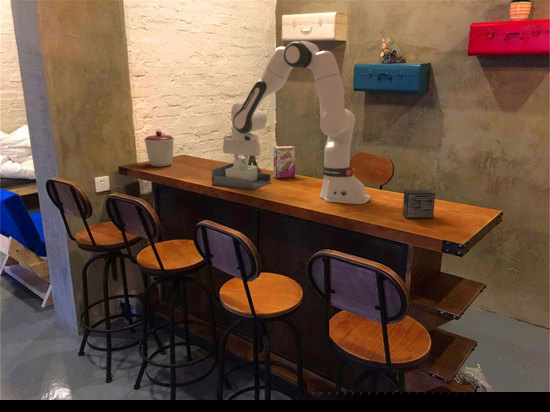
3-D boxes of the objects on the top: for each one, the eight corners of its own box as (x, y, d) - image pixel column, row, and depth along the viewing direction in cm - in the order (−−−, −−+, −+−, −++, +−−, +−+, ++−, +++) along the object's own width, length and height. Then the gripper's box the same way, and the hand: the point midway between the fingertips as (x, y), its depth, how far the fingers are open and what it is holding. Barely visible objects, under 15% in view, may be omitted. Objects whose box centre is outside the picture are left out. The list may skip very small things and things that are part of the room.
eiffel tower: (258, 179, 241) (258, 132, 234) (240, 178, 244) (238, 131, 237) (264, 175, 251) (264, 129, 244) (246, 174, 253) (245, 129, 246)
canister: (139, 166, 273) (136, 131, 267) (158, 161, 289) (155, 128, 283) (164, 169, 266) (161, 133, 260) (182, 163, 282) (179, 129, 276)
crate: (257, 179, 234) (257, 157, 231) (242, 185, 222) (242, 161, 219) (241, 177, 239) (240, 155, 235) (225, 183, 227) (225, 159, 224)
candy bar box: (276, 178, 241) (276, 148, 237) (273, 176, 246) (273, 146, 241) (295, 177, 245) (295, 147, 240) (292, 175, 250) (292, 145, 245)
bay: (270, 182, 233) (270, 167, 231) (252, 190, 218) (252, 173, 216) (232, 177, 244) (231, 163, 242) (212, 184, 229) (211, 169, 227)
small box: (428, 214, 180) (431, 188, 177) (433, 219, 173) (436, 192, 170) (401, 214, 180) (403, 188, 177) (405, 219, 174) (408, 192, 171)
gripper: (219, 135, 226) (220, 162, 230) (254, 137, 217) (255, 166, 221) (227, 133, 232) (228, 160, 235) (261, 136, 222) (261, 164, 226)
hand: (241, 163), depth 228 cm, fingers closed on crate, 2 cm apart
